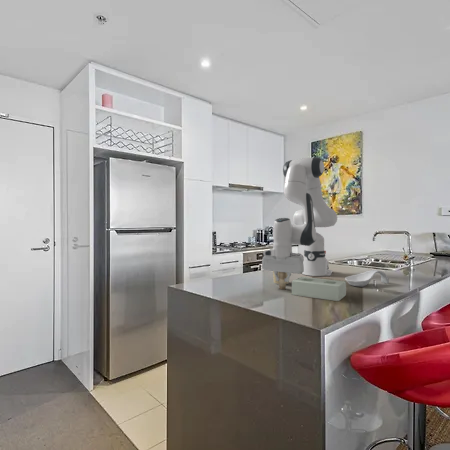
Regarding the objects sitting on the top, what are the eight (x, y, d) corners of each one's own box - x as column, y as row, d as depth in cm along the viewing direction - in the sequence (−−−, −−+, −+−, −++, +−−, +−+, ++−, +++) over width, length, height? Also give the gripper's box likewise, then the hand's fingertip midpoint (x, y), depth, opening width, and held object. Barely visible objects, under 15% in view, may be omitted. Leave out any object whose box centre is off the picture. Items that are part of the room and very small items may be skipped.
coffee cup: (290, 285, 157) (290, 261, 156) (271, 284, 159) (271, 261, 158) (290, 281, 166) (290, 259, 166) (272, 281, 168) (272, 258, 167)
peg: (280, 287, 151) (280, 267, 151) (286, 288, 149) (286, 267, 149) (278, 289, 149) (278, 268, 148) (284, 289, 147) (284, 268, 147)
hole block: (301, 289, 148) (301, 276, 148) (345, 295, 136) (345, 281, 136) (291, 294, 138) (291, 281, 138) (338, 301, 126) (338, 286, 126)
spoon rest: (356, 289, 148) (356, 274, 148) (339, 284, 159) (339, 270, 159) (394, 285, 156) (394, 271, 156) (376, 281, 167) (376, 267, 167)
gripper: (306, 252, 145) (306, 282, 146) (266, 250, 157) (266, 278, 157) (301, 254, 140) (301, 285, 140) (260, 251, 152) (260, 280, 152)
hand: (282, 281), depth 149 cm, fingers closed on peg, 3 cm apart
